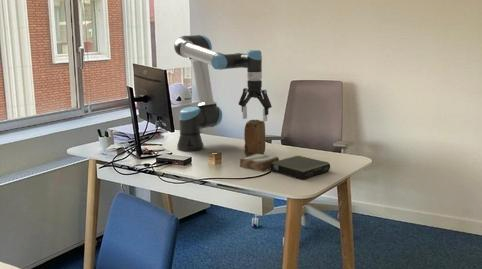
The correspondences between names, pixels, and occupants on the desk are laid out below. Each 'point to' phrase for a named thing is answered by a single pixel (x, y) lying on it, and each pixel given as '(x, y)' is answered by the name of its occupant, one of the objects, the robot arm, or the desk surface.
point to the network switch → (300, 167)
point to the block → (254, 137)
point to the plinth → (258, 162)
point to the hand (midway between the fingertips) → (254, 119)
